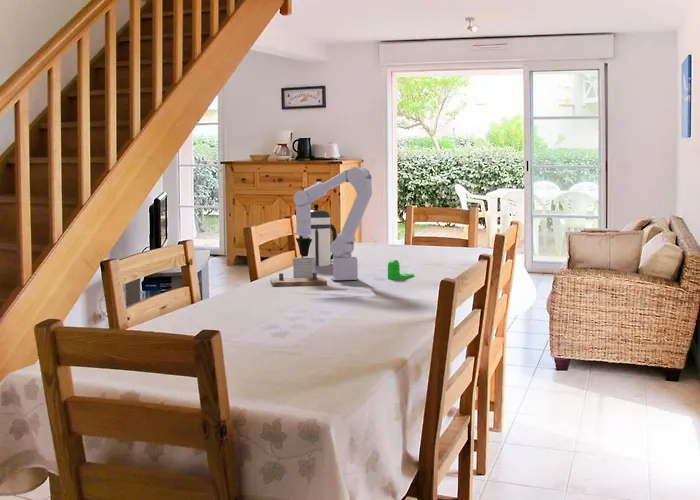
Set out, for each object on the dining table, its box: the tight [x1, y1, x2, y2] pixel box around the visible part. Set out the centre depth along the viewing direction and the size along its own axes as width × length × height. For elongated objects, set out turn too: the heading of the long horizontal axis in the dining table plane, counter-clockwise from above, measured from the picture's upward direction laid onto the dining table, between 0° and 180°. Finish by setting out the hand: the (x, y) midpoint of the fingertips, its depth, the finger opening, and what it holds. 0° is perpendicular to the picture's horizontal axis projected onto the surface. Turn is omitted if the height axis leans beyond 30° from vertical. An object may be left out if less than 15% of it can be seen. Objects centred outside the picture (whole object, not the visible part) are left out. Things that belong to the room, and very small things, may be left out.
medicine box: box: [292, 257, 316, 278], centre depth 307 cm, size 8×4×9 cm, turn 75°
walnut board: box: [269, 272, 328, 288], centre depth 291 cm, size 20×15×4 cm
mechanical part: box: [387, 259, 415, 281], centre depth 304 cm, size 12×6×8 cm, turn 145°
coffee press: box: [301, 203, 338, 267], centre depth 338 cm, size 17×16×30 cm
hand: (303, 255), depth 307 cm, fingers open, 7 cm apart
